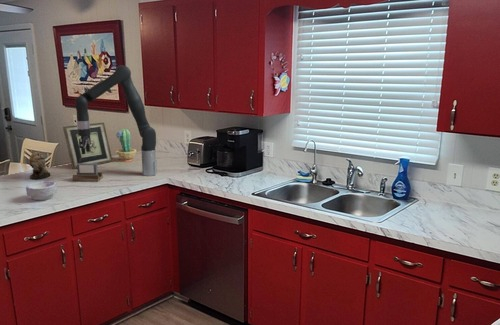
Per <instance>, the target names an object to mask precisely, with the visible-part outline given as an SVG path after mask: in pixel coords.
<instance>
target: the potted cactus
mask: <svg viewBox="0 0 500 325" xmlns="http://www.w3.org/2000/svg"><path fill="white" fill-rule="evenodd" d="M116 138H117V139H118V140H119V142H120V146H121V149H117V150H116V154H117V155H118V158H119V160H120V161H121V162H124V163H125V162H126V163H128V162H132V161H133V159H134V158H135V155H136V153H137V149H135V148H132V147H131V132H130V131H129V130H128V129H127V128H126V129H125V128H122V129H121V130H118V131H117V133H116Z"/></svg>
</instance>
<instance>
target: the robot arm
mask: <svg viewBox="0 0 500 325" xmlns="http://www.w3.org/2000/svg"><path fill="white" fill-rule="evenodd" d="M131 75H132V70H131V69H130V67H128V66H127V65H123V64H121V65H118V66H116V68H115V71H114V72H113V73H112V74H110V76H108V77H107V78H105V79H103V80H101V81H99V82H98V83H96V84H94V85H93V86H92V87H90V88H88V90H86V91H85V92H83V93H82V94H80V95H78V96H77V97H76V98H75V100H74V101H75V111H76V125H77V129H78V135H79V136H81V138H80V139H79V148H81V151H82V154H86V152H85V146H86V151H87V152H89V151H90V144H91V139H90V135H91V132H90V124H91V123H90V116H89V110H88V106H89V105H88V104H90V103H91V102H92V101H95V100H96V99H98V98H100V96H102V95H104V93H106V92H108V91H109V90H110V89H111V88H113V87H115V86H116V85H118V84H120V86H121V88H122V91H123V94H124V97H125V101H126V102H127V105H128V108H129V110H130V112H131V114H132V116H133V118H134V120H135V123H136V126H137V129H138V133H139V135H140V137H141V139H142V140H141V141H142V142H141V143H142V144H141V147H140V148H141V167H142V168H141V169H142V170H141V172H142V176H144V177H151V176H156V175H157V174H158V166H157V159H156V148H157V147H156V146H157V134H156V130H155V129H154V128H153V127H151V125H150V123H149V121H148V119H147V116H146V115H147V114H146V109H145V106H144V103H143V100H142V97H141V96H140V94H139V92H138V89H137V88H136V87H135V85H134V82H133V80H132V77H131ZM82 145H83V146H82Z"/></svg>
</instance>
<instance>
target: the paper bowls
mask: <svg viewBox="0 0 500 325" xmlns="http://www.w3.org/2000/svg"><path fill="white" fill-rule="evenodd" d="M25 191H26V196H28V197H30V198H31V199H32V200H34V201H47V200H49V199H51V198H53V197H54V194H55V193H57V191H58V187H57V183H56V182H55V181H51V180H45V181H43V180H42V181H36V182H33V183H29V184H27V185H26V186H25Z"/></svg>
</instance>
